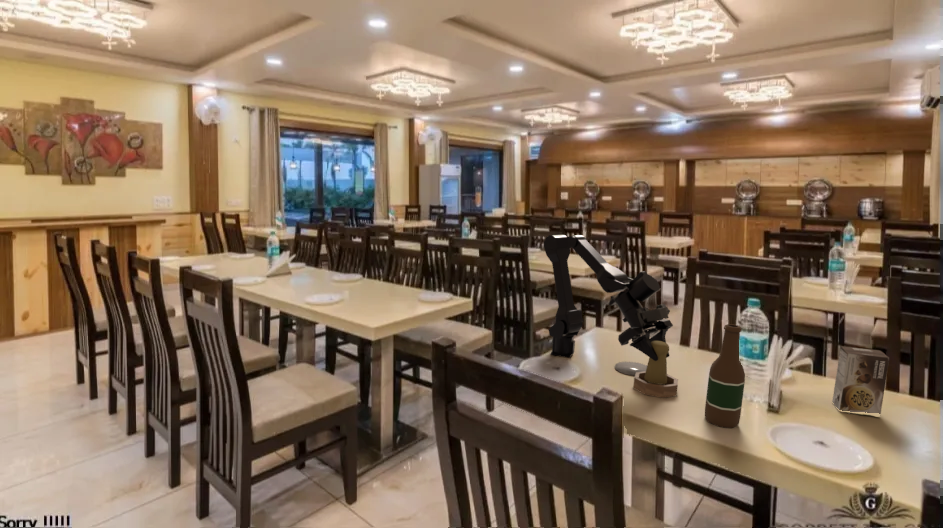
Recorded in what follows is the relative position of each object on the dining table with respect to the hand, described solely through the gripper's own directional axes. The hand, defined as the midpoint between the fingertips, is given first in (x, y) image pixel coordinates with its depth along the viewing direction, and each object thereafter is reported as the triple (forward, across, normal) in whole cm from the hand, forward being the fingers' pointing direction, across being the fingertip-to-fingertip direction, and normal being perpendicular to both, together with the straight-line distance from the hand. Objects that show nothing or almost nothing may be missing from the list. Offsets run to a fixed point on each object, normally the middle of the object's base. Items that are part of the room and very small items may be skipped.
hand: (662, 358), depth 143 cm
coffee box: (+32, +33, -20) cm, 50 cm away
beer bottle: (+20, -4, -8) cm, 22 cm away
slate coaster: (-3, +8, +16) cm, 18 cm away
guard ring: (+6, 0, +7) cm, 9 cm away
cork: (+4, 0, +6) cm, 7 cm away
